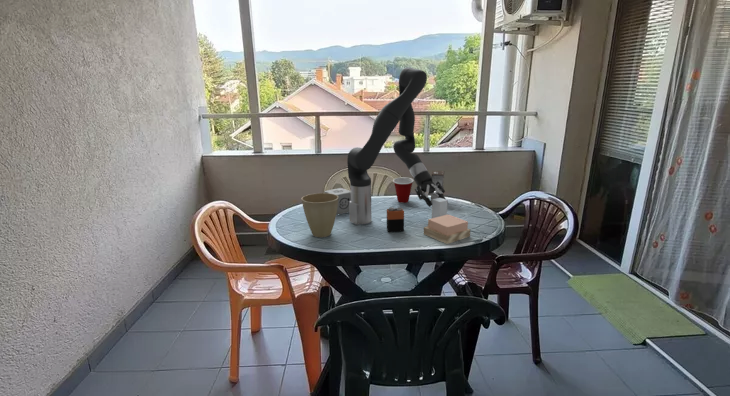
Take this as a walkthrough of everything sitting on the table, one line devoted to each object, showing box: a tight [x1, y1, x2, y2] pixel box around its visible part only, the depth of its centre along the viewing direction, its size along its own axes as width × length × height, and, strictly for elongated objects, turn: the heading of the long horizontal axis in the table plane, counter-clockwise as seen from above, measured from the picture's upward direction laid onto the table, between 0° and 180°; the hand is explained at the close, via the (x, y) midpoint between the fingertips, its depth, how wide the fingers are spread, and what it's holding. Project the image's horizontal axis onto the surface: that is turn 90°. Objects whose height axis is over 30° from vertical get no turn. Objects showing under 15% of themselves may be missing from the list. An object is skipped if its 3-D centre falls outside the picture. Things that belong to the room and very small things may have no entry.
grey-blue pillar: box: [430, 198, 448, 219], centre depth 167 cm, size 5×5×10 cm
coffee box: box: [430, 170, 445, 202], centre depth 194 cm, size 9×6×16 cm
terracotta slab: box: [427, 213, 469, 236], centre depth 150 cm, size 11×11×4 cm
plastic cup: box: [392, 176, 415, 204], centre depth 197 cm, size 11×11×12 cm
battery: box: [386, 206, 405, 233], centre depth 157 cm, size 4×7×10 cm, turn 96°
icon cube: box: [323, 187, 351, 216], centre depth 184 cm, size 10×10×10 cm
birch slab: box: [423, 225, 471, 245], centre depth 152 cm, size 13×13×4 cm
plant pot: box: [301, 192, 339, 238], centre depth 153 cm, size 15×15×16 cm
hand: (437, 204), depth 167 cm, fingers open, 8 cm apart
